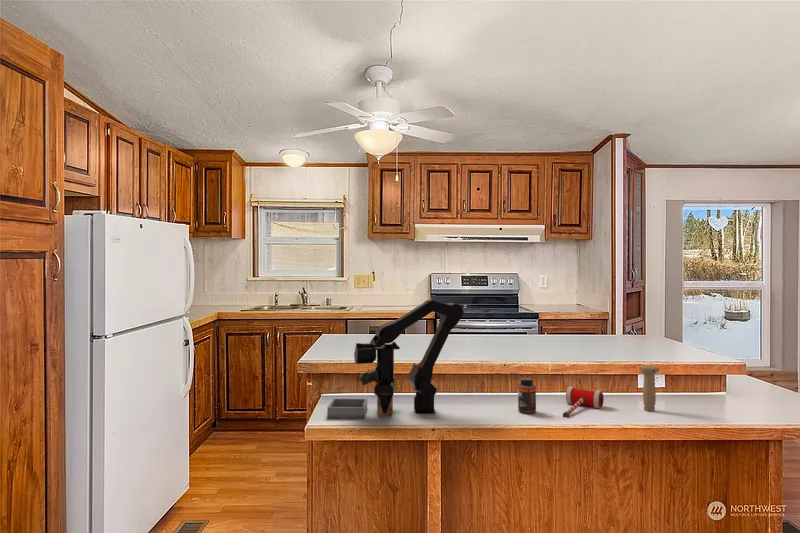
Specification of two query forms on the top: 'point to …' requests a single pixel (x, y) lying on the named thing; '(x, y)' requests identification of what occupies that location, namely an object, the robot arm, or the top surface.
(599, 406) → the toy hammer
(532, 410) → the supplement bottle
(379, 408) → the walnut block
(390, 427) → the top surface
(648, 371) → the handle
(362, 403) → the grey square tray
